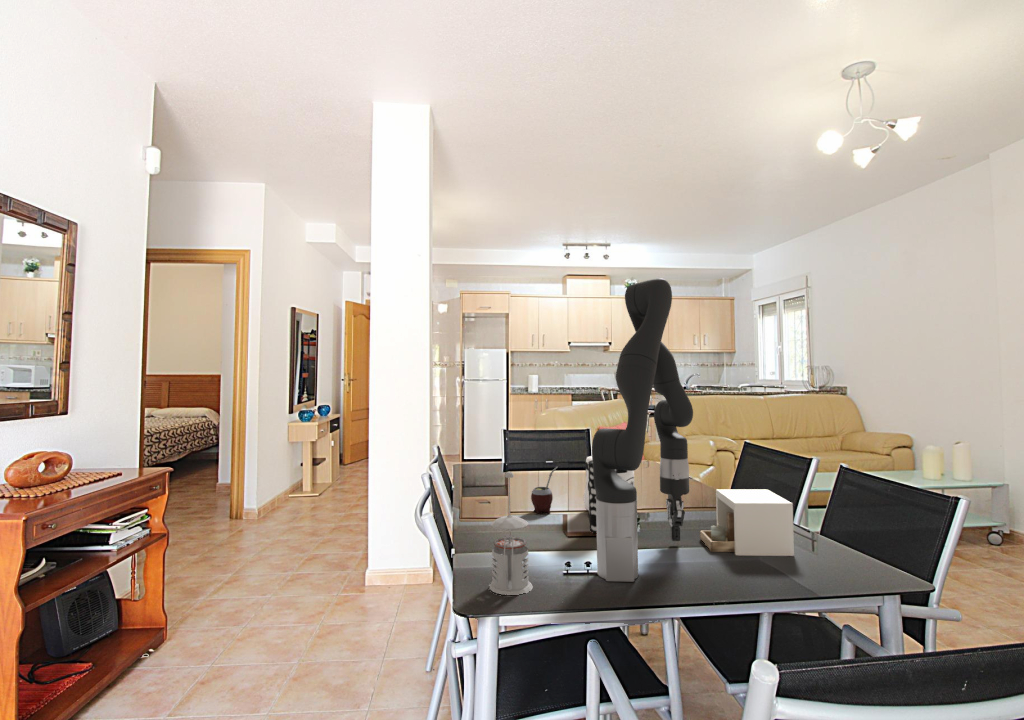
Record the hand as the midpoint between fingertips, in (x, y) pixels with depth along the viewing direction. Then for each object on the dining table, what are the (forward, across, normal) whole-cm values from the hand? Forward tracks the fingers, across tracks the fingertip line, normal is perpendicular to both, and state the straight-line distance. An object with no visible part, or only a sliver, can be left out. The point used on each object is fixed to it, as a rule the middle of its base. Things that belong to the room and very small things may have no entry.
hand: (675, 540), depth 145 cm
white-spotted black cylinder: (+2, -12, -18) cm, 22 cm away
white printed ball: (+2, -32, -14) cm, 35 cm away
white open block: (+1, -1, +20) cm, 20 cm away
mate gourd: (+2, -32, -36) cm, 49 cm away
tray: (+1, 0, +16) cm, 16 cm away
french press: (+2, +31, -41) cm, 52 cm away
